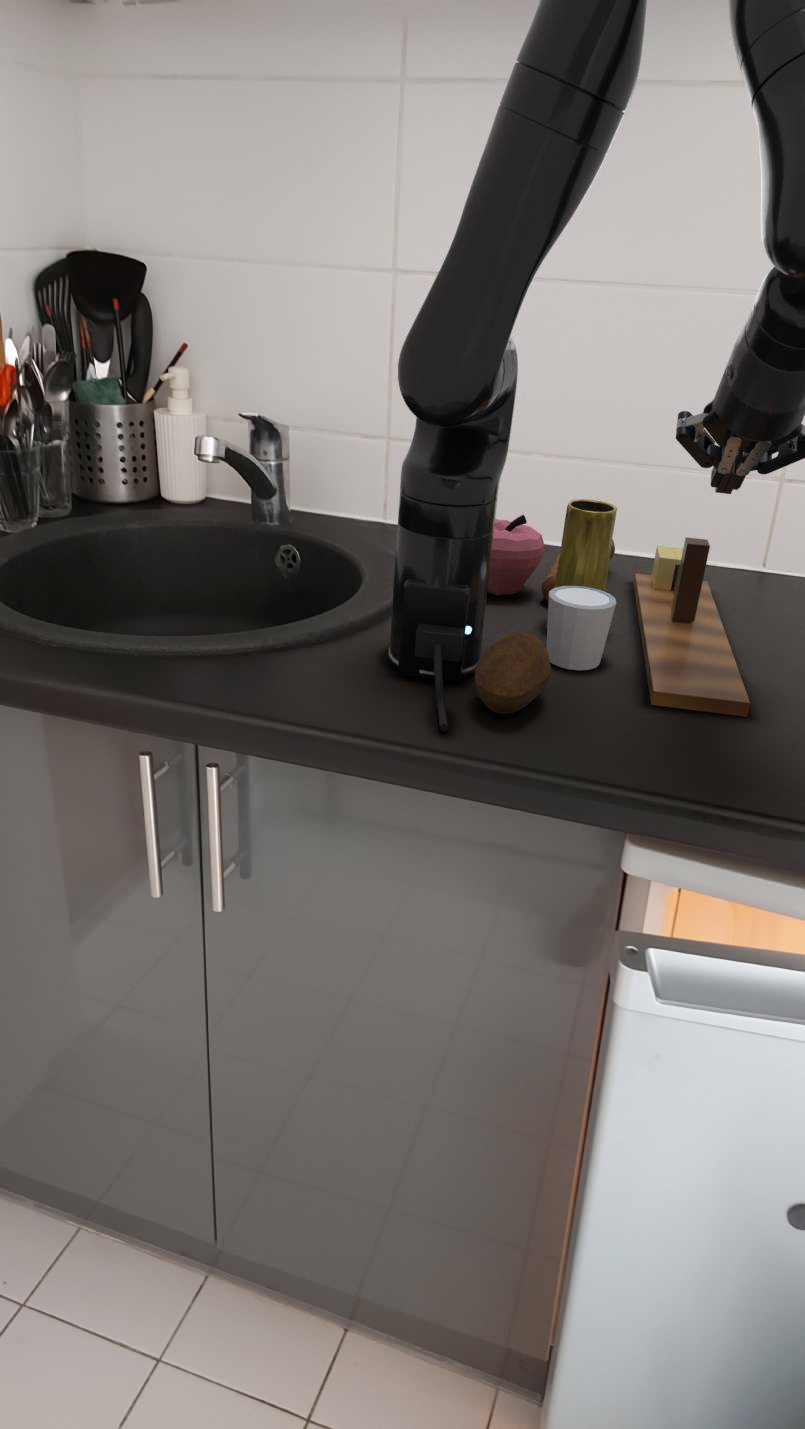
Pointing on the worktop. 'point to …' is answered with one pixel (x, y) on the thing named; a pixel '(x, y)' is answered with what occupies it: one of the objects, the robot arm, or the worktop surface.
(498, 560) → the apple
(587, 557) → the vase
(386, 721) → the worktop surface
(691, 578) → the dark brown upright post
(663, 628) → the cutting board
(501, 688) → the potato
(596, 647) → the white cup
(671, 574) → the yellow slotted block
